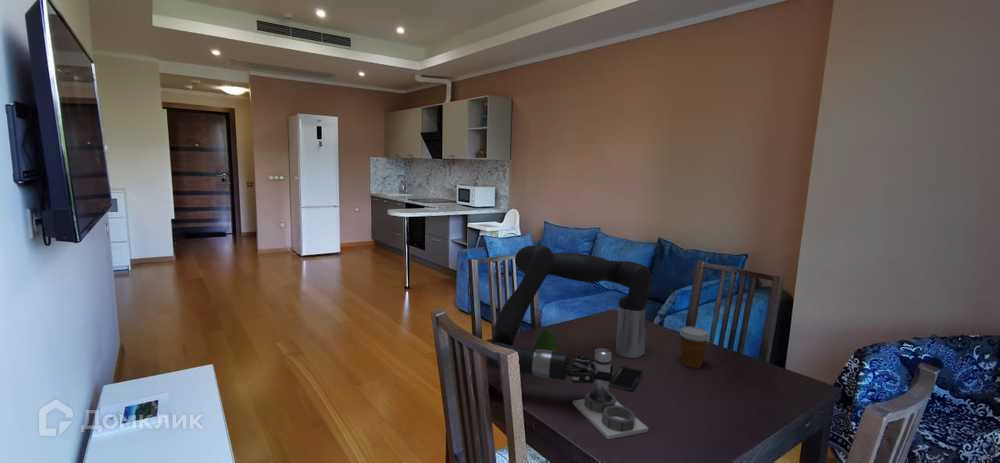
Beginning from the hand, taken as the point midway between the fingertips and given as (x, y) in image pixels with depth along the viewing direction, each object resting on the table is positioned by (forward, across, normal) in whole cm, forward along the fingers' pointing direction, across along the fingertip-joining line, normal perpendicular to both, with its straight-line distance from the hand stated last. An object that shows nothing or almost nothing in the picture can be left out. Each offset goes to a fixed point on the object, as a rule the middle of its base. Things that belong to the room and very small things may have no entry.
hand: (611, 373), depth 130 cm
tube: (-3, 0, +8) cm, 8 cm away
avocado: (-22, +25, +11) cm, 35 cm away
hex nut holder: (0, -4, +11) cm, 11 cm away
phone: (+4, +22, +11) cm, 25 cm away
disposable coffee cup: (+26, +41, +11) cm, 50 cm away
